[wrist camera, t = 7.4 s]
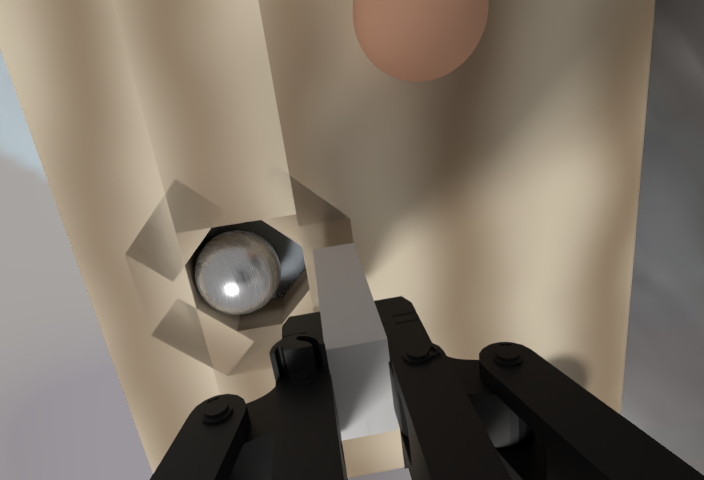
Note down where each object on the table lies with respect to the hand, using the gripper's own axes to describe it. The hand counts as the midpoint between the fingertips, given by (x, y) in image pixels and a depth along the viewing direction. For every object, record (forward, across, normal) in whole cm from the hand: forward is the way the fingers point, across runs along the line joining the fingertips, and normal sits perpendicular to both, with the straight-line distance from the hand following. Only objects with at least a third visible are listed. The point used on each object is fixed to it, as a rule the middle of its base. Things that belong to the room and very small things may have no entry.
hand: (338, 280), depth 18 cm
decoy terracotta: (+2, +4, +8) cm, 9 cm away
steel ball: (+4, -3, 0) cm, 4 cm away
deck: (+4, +2, 0) cm, 4 cm away
